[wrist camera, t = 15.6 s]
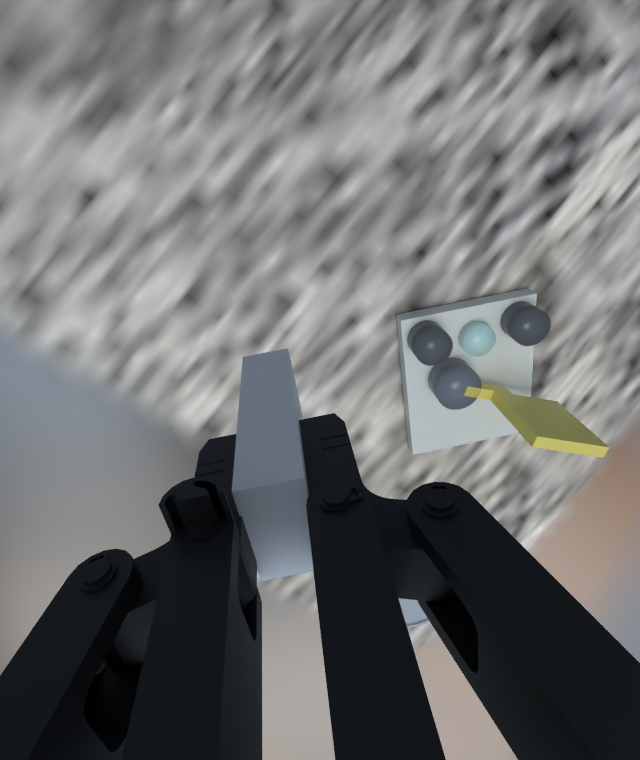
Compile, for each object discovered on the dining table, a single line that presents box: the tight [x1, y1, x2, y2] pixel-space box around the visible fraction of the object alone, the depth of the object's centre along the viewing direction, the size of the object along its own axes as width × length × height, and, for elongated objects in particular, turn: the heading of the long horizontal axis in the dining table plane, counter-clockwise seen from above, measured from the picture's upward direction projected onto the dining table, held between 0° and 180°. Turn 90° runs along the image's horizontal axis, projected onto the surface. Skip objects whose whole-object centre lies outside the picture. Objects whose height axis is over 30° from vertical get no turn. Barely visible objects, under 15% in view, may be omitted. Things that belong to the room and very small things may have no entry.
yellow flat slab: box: [428, 358, 609, 457], centre depth 49 cm, size 14×5×12 cm, turn 76°
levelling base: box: [396, 288, 551, 455], centre depth 54 cm, size 18×15×5 cm
